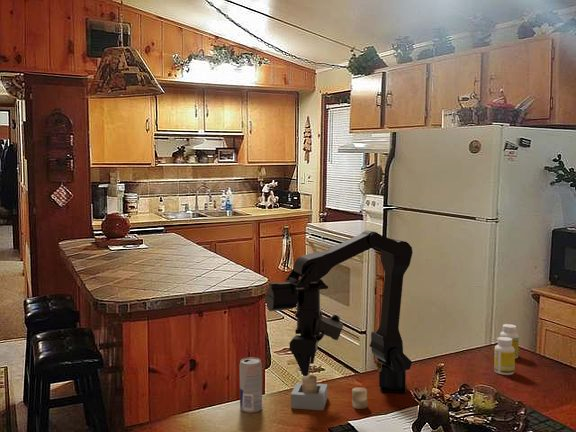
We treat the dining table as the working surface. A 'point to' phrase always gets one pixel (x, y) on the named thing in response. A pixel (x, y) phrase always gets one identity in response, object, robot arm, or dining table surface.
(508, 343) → the supplement bottle
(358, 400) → the short pin
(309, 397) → the hole block
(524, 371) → the dining table surface
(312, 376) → the beige peg
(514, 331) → the supplement bottle
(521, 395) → the dining table surface
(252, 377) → the energy drink
